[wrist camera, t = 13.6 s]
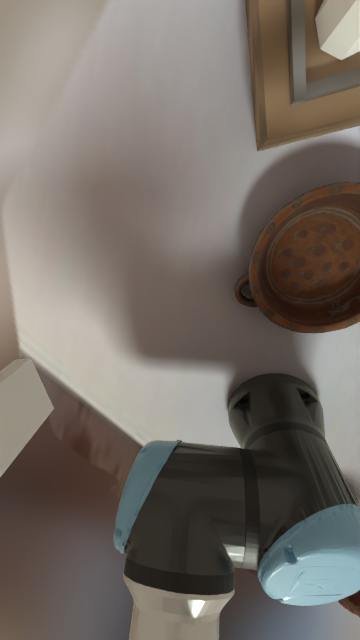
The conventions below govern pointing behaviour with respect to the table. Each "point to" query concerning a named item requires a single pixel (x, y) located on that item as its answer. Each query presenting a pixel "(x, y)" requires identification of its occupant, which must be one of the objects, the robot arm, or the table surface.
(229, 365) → the table surface
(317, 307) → the dish
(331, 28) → the pepper shaker
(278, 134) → the display riser
